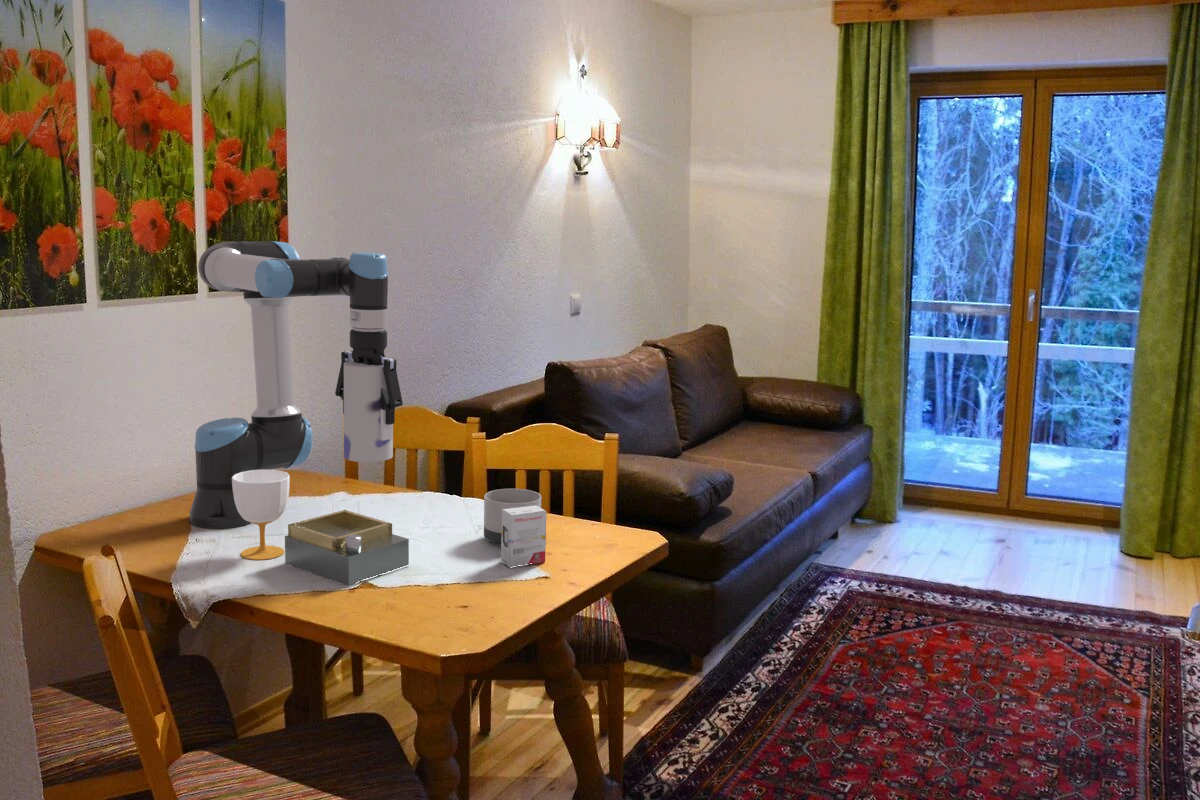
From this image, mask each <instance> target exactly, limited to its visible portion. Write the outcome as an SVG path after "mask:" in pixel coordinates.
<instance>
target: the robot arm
mask: <svg viewBox="0 0 1200 800" xmlns="http://www.w3.org/2000/svg"><path fill="white" fill-rule="evenodd" d="M197 267H198V274H199V276H200V278H201V280H202V281H203V283H204V284H205V285H207V286H208V287H209V288H211V289H214V290H217V291H220V292H227V293H232V292H233V293H242V294H243V301H245V303H246V304H247V305H249V306H250V312H251V313H250V314H251V325H252V326H251V327H252V328H251V329H252V330H251V331H252V344H253V357H254V361H253V362H254V374H255V376H254V377H255V388H256V389H255V390H256V392H255V393H256V409H255V410H253V412H251V415H250V417H251V422H250V423H249V422H248V421H247V419H246V418H243V417H230V418H229V417H225V418H220V419H214V420H210V421H208V422H205V423H203V424H202V425H200V426H199V427H198V428H197V430H196V431H195V440H194V442H195V443H194V450H195V471H196V472H195V474H196V475H195V476H196V491H195V494H194V498H193V501H192V504H191V508H190V509H189V522H190V524H191V525H193V526H196V527H200V528H206V529H229V528H230V529H231V528H235V527H241V526H246V525H248V524H252V523H251V522H248V521H246V520H244V519H243V518H242V517H241V515H240V514H239V512H238V511H237V508H236V505H235V501H234V495H233V488H232V477H233V476H234V475H235V474H238V473H240V472H245V471H250V470H278V469H285V470H286V469H290V468H292V467H297V466H301V465H302V464H304V463H305V462H306V461H307V460H308V458H309V457H310V455H311V452H312V449H313V441H314V437H313V436H314V435H313V428H311V423H310V421H309V420H308V419H307V418H306V417H303V416H302V414H303V413H302V410H301V409H300V408H299V407H298V406H296V404H295V392H294V375H293V373H294V372H293V359H292V357H293V356H292V340H291V339H292V338H291V326H290V325H291V324H290V308H289V306H290V304H291V303H292V302H293V301H294V299H295V297H298V298H299V297H319V296H320V297H327V296H330V297H331V296H346V297H349V326H350V328H351V329H350V330H349V347H350V348H351V349H352V350H347V351H342V352H340V358H341V361H340V362H341V363H340V367H339V369H340V370H339V373H338V377H337V381H336V382H337V383H336V386H335V387H336V388H335V392H334V395H335V396H336V397H340V399H341V400H342V413H343V414H342V415H344V363H345V362H347V361H352V360H353V361H354V362H355V363H364V364H366V365H380V364H381V365H382V368H383V371H384V377H385V382H386V387H387V388H386V389H382V388H381V401H382V404H383V407H382V408H381V427H380V440H382V441H384V440H388V439H393V440H394V424H395V420H396V419H395V418H396V417H395V414H396V413H395V410H396V408H399V407H402V406H403V397H402V392H401V388H400V383H399V377H398V372H397V362H398V360H397V358H396V357H392V358H389V357H387V356H386V353H385V349H386V348H387V347H388V331H387V330H386V328H388V290H389V289H388V287H389V284H388V283H389V282H388V281H389V280H388V279H389V270H388V258H387V256H386V254H384V253H381V252H372V251H371V252H367V251H365V252H364V251H363V252H362V251H361V252H359V251H357V252H351V254H350V256H349V259H348V258H346V257H330V258H329V257H328V258H324V259H323V258H320V259H319V258H317V259H315V258H314V259H301V257H300V256H299V254H298V252H297V250H296V248H295V247H293V246H292V244H290V243H289V242H286V241H285V242H284V241H274V240H269V241H258V240H257V241H222V242H219V243H216V244H213V245H211V246H210V247H208V248H207V249H206V250H205V251H203V253H202V254H201V255H200V257H199V261H198V266H197ZM388 401H389V403H388Z"/></svg>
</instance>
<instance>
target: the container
mask: <svg viewBox="0 0 1200 800" xmlns="http://www.w3.org/2000/svg"><path fill="white" fill-rule="evenodd" d="M381 388H382V389H386V388H387V387H386V382H385V377H384V371H383V368H382V365H381V364H380V365H366V364H364V363H355V362H354V361H353V360H352V361H347V362H345V363H344V414H343V458H344V459H346V460H348V461H351V462H355V463H378V462H384V461H388V460H390V459H392V458H393V457H394V456H393V455H394V451H393V447H394V438H393V439H388V440H384V441H382V440H380V427H381V408H382V407H383V404H382V401H381ZM388 403H389V401H388Z"/></svg>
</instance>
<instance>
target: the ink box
mask: <svg viewBox="0 0 1200 800" xmlns="http://www.w3.org/2000/svg"><path fill="white" fill-rule="evenodd" d="M546 536H547V511H546V510H545V509H544V508H542V507H541V508H540V507H538V506H537V505H535V506H527V507H518V508H510V509H502V539H501V545H500V547H501V548H500V552H501V554H500V561H501V563H502V564H504V563H505V564H506V565H505V564H504V565H505V566H507V567H508V566H509V567H513V566H518V565H525V564H530V563H532V565H536V564H541V563H545V562H546V546H547V544H546V540H547V537H546ZM509 567H508V568H509Z"/></svg>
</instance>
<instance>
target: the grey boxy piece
mask: <svg viewBox="0 0 1200 800" xmlns="http://www.w3.org/2000/svg"><path fill="white" fill-rule="evenodd" d="M287 531H288V532H287V535H284V551H285V552H284V560H285V561H284V562H285V563H284V564H285V565H287V566H290V567H293V568H296V569H299V570H302V571H304V570H305V571H304V572H307V571H308V573H310V572H311V573H310V574H312V575H316V576H318V575H319V576H318V577H321V576H322V578H324V577H325V579H327V578H328V580H330V579H331V580H330V581H332V582H333V581H334V582H335V581H336V583H338V582H339V584H341V585H344V586H348V587H351V586H354V585H356V584H355V583H356V582H358V581H361V580H363V579H366V578H370V577H373V576H376V575H379V574H382V573H386V572H388V571H392V570H394V569H397V568H400V567H403V566H406V565H409V564H410V562H409V560H410V559H409V558H410V555H409V553H410V547H409V546H410V545H409V543H410V542H409V541H410V539H409V538H407V537H404V536H401V535H397V534H393V523H392V522H388V521H386V520H380V519H378V518H374V517H370V516H367V515H364V514H360V513H358V512H353V511H350V510H347V509H343V510H338V511H336V512H331V513H328V514H327V513H326V514H324V515H320V516H315V517H312V518H307V519H304V520H301V521H296V522H293V523H290V524H289V523H288V524H287ZM353 584H354V585H353Z"/></svg>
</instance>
